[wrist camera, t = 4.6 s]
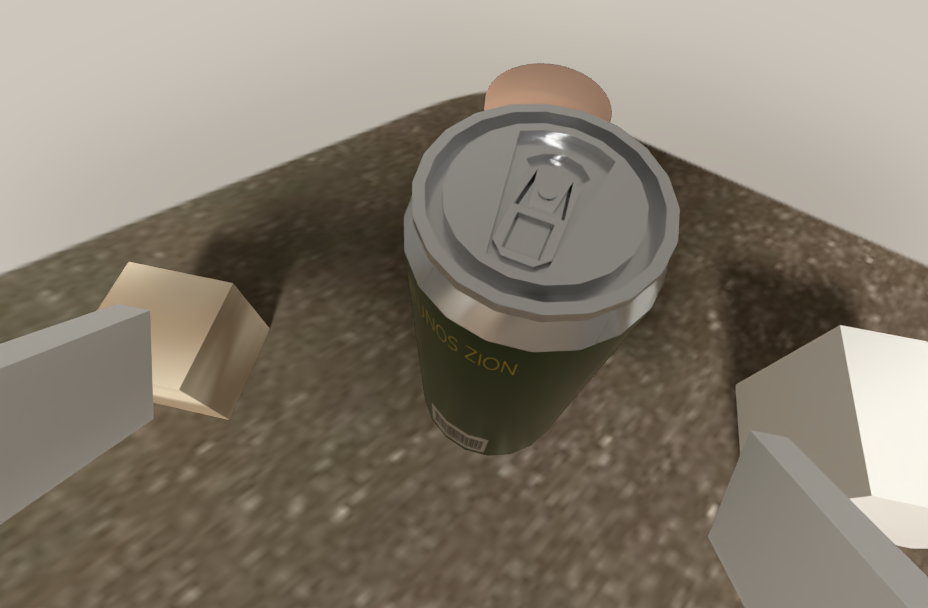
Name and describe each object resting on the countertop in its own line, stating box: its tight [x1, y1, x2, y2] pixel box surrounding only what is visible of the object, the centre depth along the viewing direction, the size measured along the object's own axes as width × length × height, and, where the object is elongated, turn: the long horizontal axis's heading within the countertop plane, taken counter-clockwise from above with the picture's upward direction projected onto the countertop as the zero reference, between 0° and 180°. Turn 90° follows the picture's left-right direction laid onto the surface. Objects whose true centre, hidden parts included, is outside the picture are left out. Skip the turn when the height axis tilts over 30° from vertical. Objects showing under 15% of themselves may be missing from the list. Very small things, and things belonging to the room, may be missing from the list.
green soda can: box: [404, 104, 680, 455], centre depth 14 cm, size 5×5×12 cm
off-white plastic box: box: [735, 325, 928, 548], centre depth 16 cm, size 5×6×6 cm
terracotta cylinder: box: [484, 64, 612, 123], centre depth 21 cm, size 5×5×6 cm
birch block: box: [97, 262, 270, 420], centre depth 18 cm, size 4×4×4 cm
